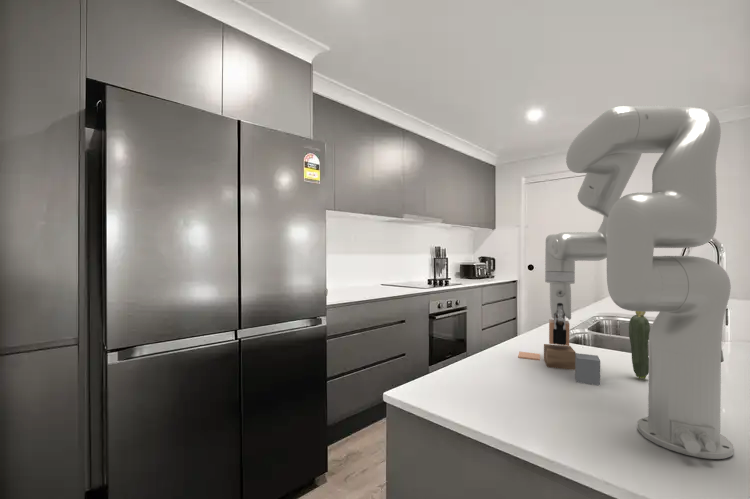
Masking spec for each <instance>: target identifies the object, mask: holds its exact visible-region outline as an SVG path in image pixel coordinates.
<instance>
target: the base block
mask: <svg viewBox="0 0 750 499" xmlns="http://www.w3.org/2000/svg"><path fill="white" fill-rule="evenodd" d="M575 353H577V352H576V351H575V350H574V349H573V347H572V346H571V345H569V346H567V345H557V344H549V343H544V344H543V361H544V363H545V366H546V368H548V369H549V368H550V369H560V370H561V369H563V370H571V371H572V370H573V371H575Z"/></svg>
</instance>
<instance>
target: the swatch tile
mask: <svg viewBox="0 0 750 499" xmlns="http://www.w3.org/2000/svg"><path fill="white" fill-rule="evenodd" d="M517 358H518V359H525V360H526V359H527V360H534V361H541V354H540V353H535V352H534V353H533V352H527V351H519V352H518V356H517Z"/></svg>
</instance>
